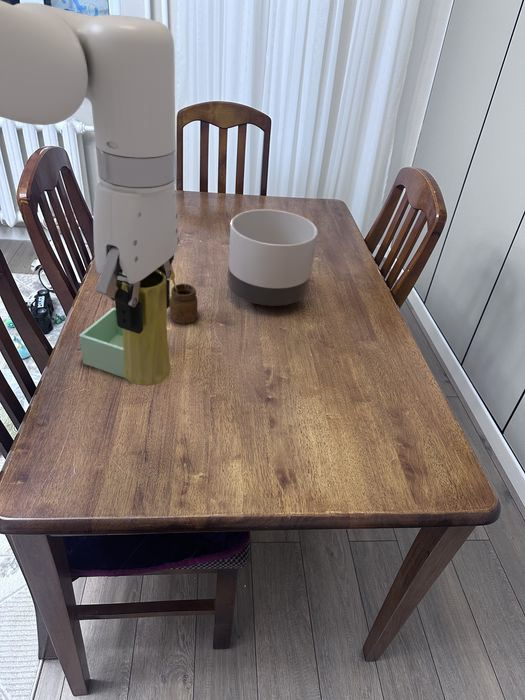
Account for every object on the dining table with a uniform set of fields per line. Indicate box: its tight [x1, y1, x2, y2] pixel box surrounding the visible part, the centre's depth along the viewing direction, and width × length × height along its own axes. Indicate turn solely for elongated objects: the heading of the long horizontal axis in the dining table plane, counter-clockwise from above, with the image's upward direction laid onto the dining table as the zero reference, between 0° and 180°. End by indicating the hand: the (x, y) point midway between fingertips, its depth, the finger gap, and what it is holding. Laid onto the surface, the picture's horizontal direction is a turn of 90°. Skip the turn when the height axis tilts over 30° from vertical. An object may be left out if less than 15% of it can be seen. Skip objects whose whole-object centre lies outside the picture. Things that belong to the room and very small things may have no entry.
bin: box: [78, 307, 127, 379], centre depth 92 cm, size 11×11×7 cm
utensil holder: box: [169, 264, 198, 325], centre depth 103 cm, size 6×6×12 cm
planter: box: [226, 208, 319, 307], centre depth 112 cm, size 19×19×18 cm
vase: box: [122, 269, 172, 387], centre depth 60 cm, size 6×6×14 cm
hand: (144, 315), depth 59 cm, fingers closed on vase, 5 cm apart
